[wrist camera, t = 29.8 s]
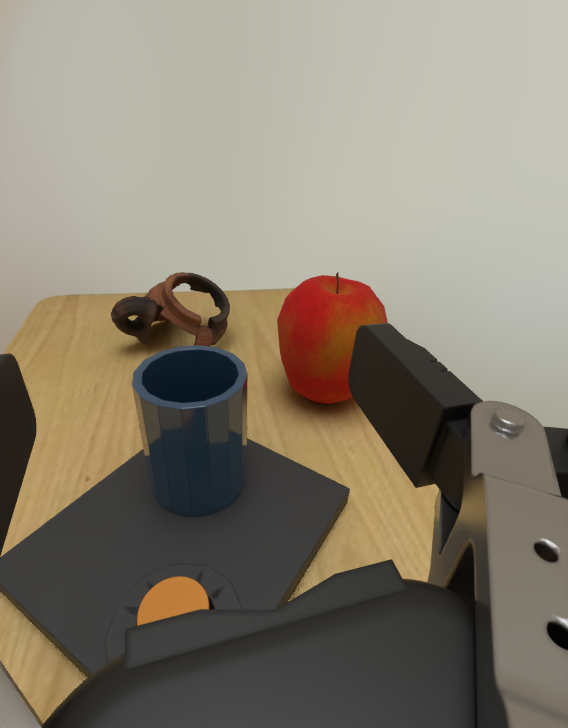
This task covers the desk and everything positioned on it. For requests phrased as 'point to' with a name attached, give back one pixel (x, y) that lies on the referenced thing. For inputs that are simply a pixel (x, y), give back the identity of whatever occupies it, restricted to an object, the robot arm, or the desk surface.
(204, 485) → the cup
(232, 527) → the scale
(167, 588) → the button
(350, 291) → the apple
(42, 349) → the desk surface
